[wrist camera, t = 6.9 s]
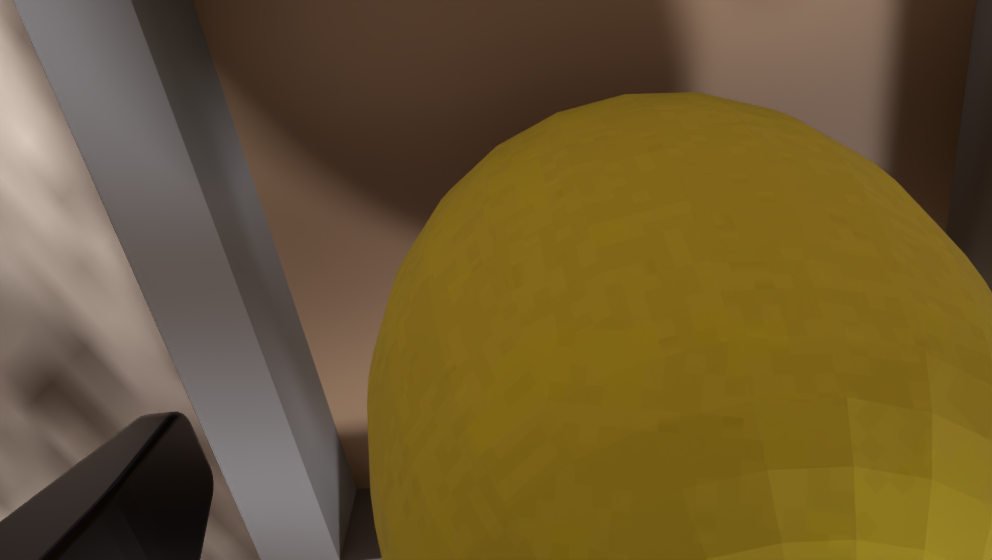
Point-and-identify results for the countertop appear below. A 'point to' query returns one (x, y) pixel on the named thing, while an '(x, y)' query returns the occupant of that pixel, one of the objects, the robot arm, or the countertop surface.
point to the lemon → (681, 352)
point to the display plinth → (428, 171)
